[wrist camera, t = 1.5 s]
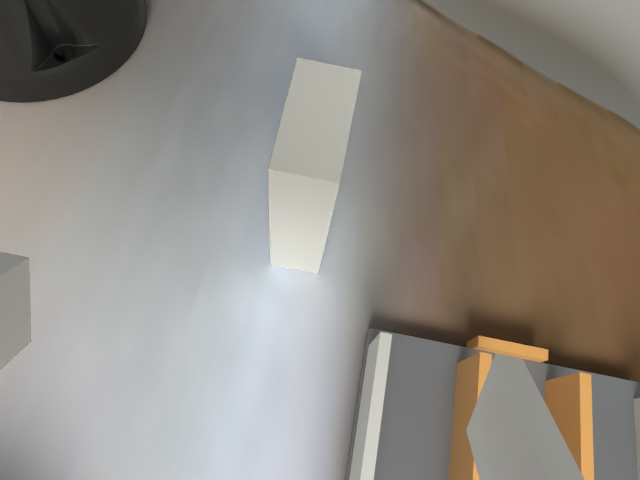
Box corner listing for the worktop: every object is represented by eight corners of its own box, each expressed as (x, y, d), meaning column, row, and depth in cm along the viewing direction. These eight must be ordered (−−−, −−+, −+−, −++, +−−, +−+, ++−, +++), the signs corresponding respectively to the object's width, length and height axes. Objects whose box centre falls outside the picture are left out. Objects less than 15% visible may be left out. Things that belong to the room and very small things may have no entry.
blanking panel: (290, 181, 34) (297, 57, 23) (334, 190, 34) (361, 70, 23) (270, 264, 31) (267, 169, 21) (318, 274, 31) (339, 183, 21)
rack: (368, 322, 30) (383, 301, 26) (629, 375, 31) (688, 362, 26) (332, 565, 26) (344, 588, 21) (643, 627, 26) (718, 663, 21)
